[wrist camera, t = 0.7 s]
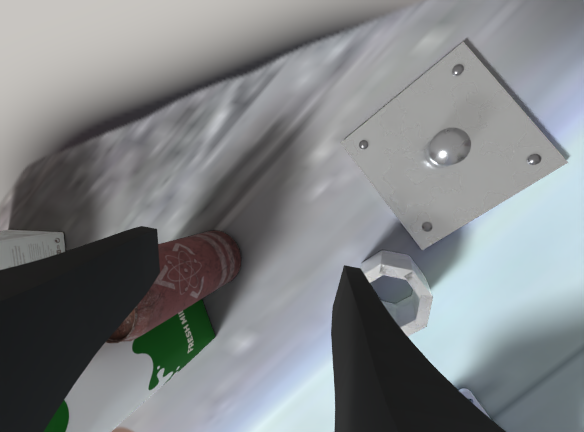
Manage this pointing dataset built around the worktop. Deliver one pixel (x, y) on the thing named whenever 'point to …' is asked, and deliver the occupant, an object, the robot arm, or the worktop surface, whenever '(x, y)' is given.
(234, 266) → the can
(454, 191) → the duct plate
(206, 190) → the worktop surface
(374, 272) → the sleeve
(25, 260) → the supplement box
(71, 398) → the milk carton
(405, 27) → the worktop surface
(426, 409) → the robot arm
